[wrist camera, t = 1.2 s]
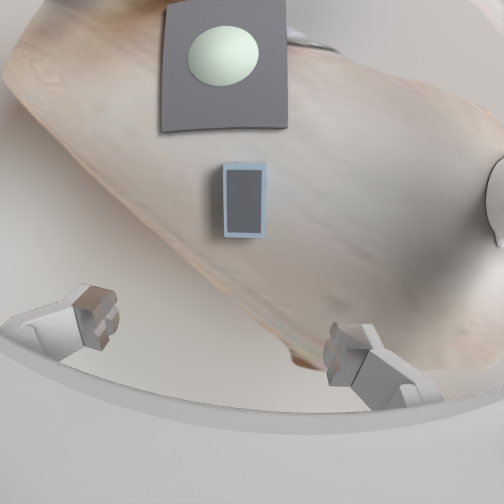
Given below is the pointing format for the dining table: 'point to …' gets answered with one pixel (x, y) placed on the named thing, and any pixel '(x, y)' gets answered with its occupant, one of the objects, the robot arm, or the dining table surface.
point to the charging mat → (225, 65)
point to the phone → (244, 199)
